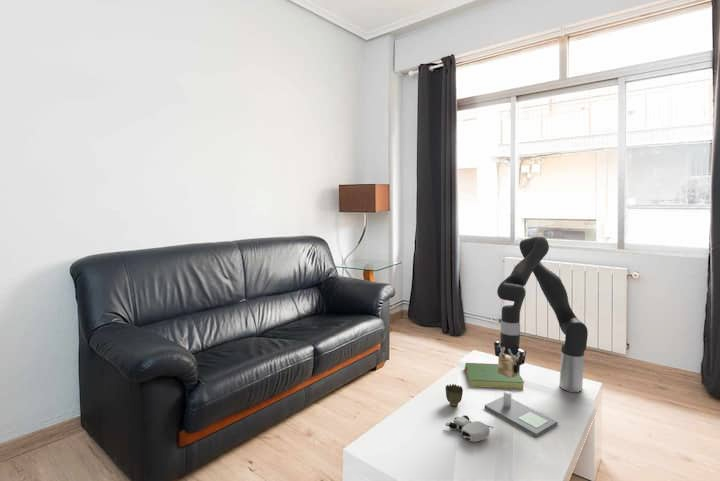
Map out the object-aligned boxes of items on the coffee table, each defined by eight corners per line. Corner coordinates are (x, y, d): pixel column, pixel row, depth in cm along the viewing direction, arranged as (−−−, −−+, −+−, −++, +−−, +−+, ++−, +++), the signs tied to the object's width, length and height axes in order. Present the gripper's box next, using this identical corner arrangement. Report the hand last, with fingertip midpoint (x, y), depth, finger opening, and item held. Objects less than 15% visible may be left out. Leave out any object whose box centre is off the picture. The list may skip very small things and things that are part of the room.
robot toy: (443, 431, 153) (473, 449, 141) (442, 420, 153) (472, 437, 140) (465, 421, 160) (495, 437, 147) (464, 410, 159) (495, 426, 147)
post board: (505, 398, 175) (506, 382, 174) (557, 425, 155) (558, 407, 154) (484, 408, 167) (485, 391, 166) (536, 437, 147) (537, 418, 146)
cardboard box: (498, 372, 165) (498, 358, 164) (507, 369, 168) (507, 354, 167) (510, 378, 160) (511, 363, 159) (519, 374, 163) (520, 359, 162)
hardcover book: (513, 371, 202) (513, 364, 201) (523, 389, 183) (524, 382, 183) (463, 369, 205) (464, 362, 204) (468, 387, 186) (469, 379, 186)
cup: (463, 410, 165) (463, 393, 164) (445, 409, 167) (445, 391, 166) (462, 401, 173) (462, 384, 172) (445, 400, 174) (445, 383, 173)
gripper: (489, 328, 165) (488, 366, 167) (520, 338, 153) (518, 379, 155) (501, 324, 169) (500, 361, 172) (531, 334, 158) (530, 374, 160)
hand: (509, 369), depth 163 cm, fingers closed on cardboard box, 6 cm apart
